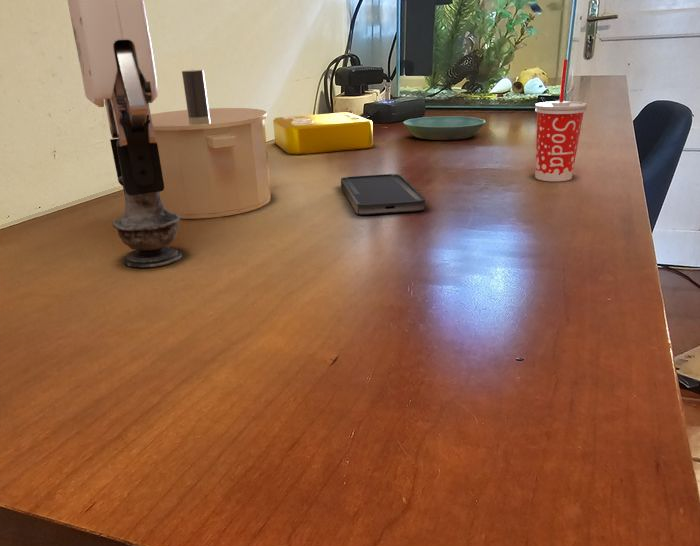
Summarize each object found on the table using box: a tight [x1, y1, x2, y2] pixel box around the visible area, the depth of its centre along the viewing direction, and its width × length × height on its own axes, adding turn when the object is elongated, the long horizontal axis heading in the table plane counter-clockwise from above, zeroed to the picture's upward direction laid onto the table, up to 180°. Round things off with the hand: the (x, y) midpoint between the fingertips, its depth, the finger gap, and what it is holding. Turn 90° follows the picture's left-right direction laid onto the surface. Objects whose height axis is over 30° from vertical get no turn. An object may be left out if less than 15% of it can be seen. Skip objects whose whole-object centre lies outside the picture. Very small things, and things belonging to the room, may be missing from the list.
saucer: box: [403, 115, 486, 141], centre depth 116 cm, size 15×15×3 cm
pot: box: [154, 119, 272, 220], centre depth 76 cm, size 15×20×10 cm
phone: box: [340, 173, 426, 216], centre depth 76 cm, size 8×1×15 cm
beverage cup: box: [534, 59, 588, 182], centre depth 80 cm, size 6×6×14 cm
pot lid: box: [150, 69, 268, 131], centre depth 73 cm, size 16×16×6 cm
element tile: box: [272, 112, 374, 156], centre depth 112 cm, size 15×15×5 cm
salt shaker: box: [112, 138, 183, 268], centre depth 57 cm, size 6×6×12 cm
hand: (141, 185), depth 56 cm, fingers closed on salt shaker, 3 cm apart
